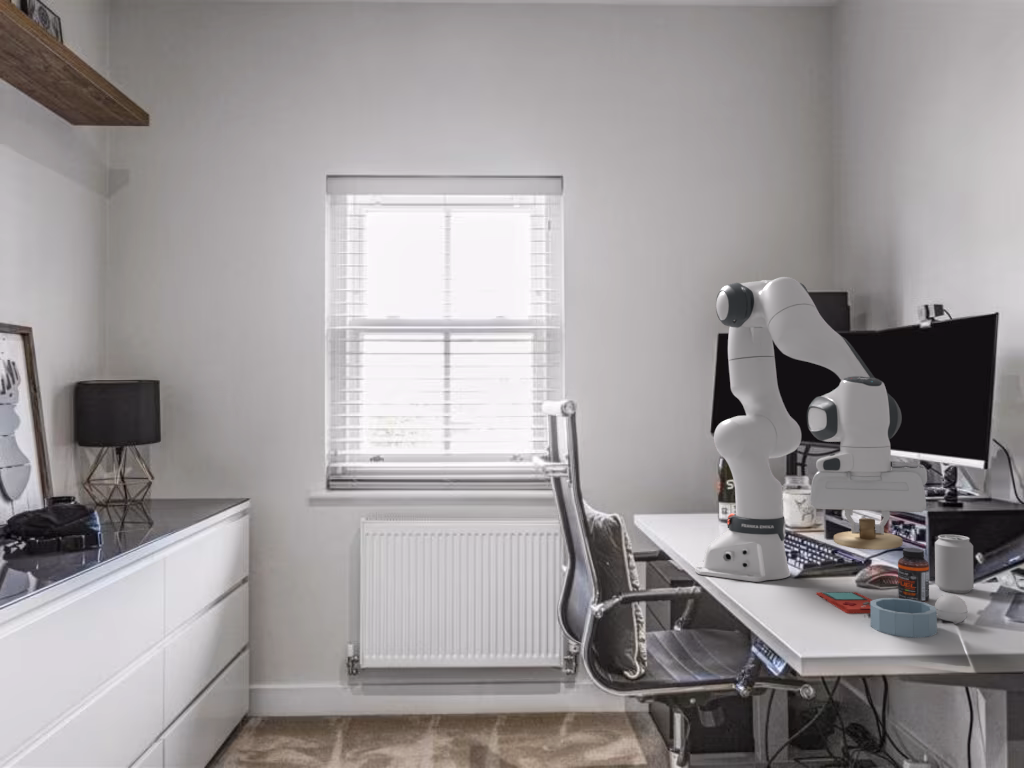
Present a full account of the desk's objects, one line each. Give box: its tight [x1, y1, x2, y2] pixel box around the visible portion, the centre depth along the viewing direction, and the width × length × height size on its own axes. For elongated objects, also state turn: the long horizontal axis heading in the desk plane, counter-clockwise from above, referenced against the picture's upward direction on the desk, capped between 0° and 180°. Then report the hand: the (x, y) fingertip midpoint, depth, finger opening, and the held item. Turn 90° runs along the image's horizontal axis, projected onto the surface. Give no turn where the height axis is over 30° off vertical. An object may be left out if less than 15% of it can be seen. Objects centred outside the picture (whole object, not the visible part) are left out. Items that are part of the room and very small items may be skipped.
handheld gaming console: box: [815, 591, 873, 614], centre depth 166 cm, size 9×1×15 cm
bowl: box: [870, 597, 938, 639], centre depth 149 cm, size 11×11×5 cm
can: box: [934, 534, 975, 594], centre depth 179 cm, size 8×8×12 cm
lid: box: [833, 517, 904, 551], centre depth 152 cm, size 12×12×4 cm
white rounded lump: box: [934, 593, 969, 625], centre depth 153 cm, size 8×6×6 cm
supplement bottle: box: [897, 547, 930, 603], centre depth 168 cm, size 6×6×11 cm
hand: (867, 533), depth 152 cm, fingers closed on lid, 3 cm apart
